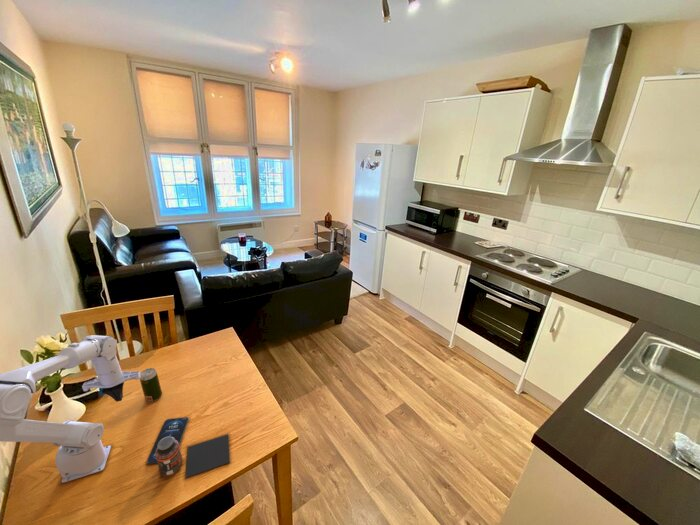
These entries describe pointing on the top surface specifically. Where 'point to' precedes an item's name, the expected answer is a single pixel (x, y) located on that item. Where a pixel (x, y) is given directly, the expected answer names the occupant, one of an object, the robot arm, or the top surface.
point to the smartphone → (169, 434)
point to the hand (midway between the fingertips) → (119, 398)
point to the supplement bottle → (168, 456)
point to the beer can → (150, 385)
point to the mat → (207, 455)
